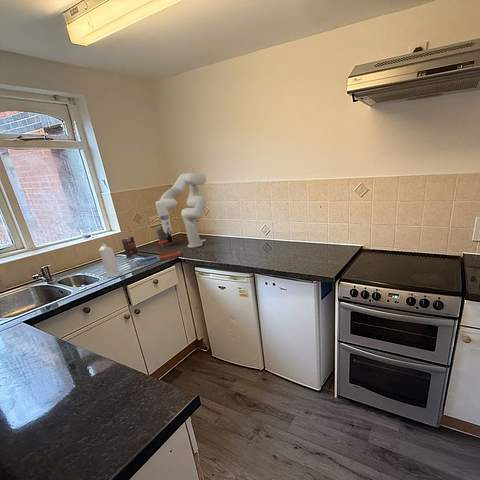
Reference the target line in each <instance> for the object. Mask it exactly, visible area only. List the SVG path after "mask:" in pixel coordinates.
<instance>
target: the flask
mask: <svg viewBox="0 0 480 480" xmlns="http://www.w3.org/2000/svg"><path fill="white" fill-rule="evenodd" d="M159 227H160V228H158V229H156V234H157V238H158V242H162V241H165V240H167V238H166V233H165V232H164V231H163V227H162V224H161V225H159ZM171 237H172V238H173V236H172V234H171ZM173 244H174V241H173V242H167V243H164V244H161V245H159V246H160V248H161V249H164V248H165V247H168V246H171V245H173Z"/></svg>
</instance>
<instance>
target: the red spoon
mask: <svg viewBox="0 0 480 480" xmlns="http://www.w3.org/2000/svg"><path fill="white" fill-rule="evenodd" d="M172 241H173V242H174V241H175V239H174V238H172ZM167 242H168V240H165V241H162V242H159V241H158V242H157V245H159V246H160V245H161V244H164V243H167Z"/></svg>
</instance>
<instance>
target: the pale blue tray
mask: <svg viewBox="0 0 480 480" xmlns="http://www.w3.org/2000/svg"><path fill="white" fill-rule="evenodd" d="M153 257H157V259H154V260H150V261H146V262H142V263H140V261H142V260H146V259H149V258H153ZM135 262H136V264H137V265H138V266H139V267H141V266H145V265H149V264H153V263H158V262H161V260H160V258H159V257H158V254H156V255H155V254H154V255H152V256H148V257H144V258H139V259H136V260H135Z"/></svg>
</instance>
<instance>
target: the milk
mask: <svg viewBox="0 0 480 480" xmlns="http://www.w3.org/2000/svg"><path fill="white" fill-rule="evenodd" d="M101 245H102V246H100V248H99V249H98V252H99V256H100V257H101V261H102V263H103V267H104V271H105V273H106V275H107V278H111V279H112V278H115V277H119V276H121V272H120V268H119V266H118V261H117V258H116V256H115V253H114V249H113V247H109V246H107V244H105V243H101Z"/></svg>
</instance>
